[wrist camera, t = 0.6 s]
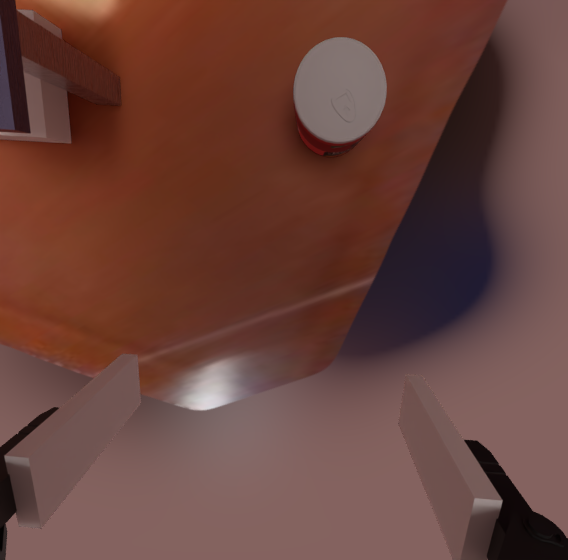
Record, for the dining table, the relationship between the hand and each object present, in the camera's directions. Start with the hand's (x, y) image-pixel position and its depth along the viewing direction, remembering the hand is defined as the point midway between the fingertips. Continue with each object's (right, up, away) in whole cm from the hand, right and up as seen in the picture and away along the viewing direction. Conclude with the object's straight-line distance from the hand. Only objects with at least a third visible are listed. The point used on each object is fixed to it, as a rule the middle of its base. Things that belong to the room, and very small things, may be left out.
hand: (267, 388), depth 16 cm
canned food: (+6, +23, +22) cm, 33 cm away
